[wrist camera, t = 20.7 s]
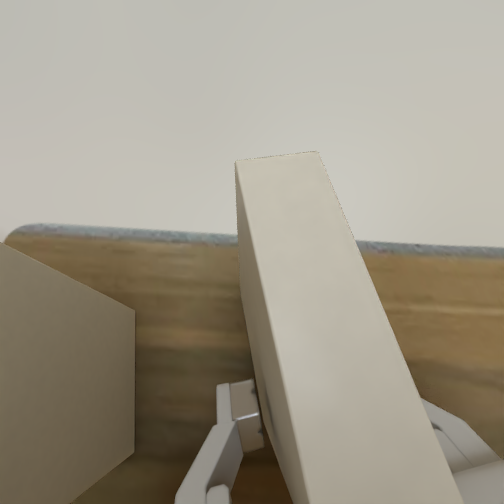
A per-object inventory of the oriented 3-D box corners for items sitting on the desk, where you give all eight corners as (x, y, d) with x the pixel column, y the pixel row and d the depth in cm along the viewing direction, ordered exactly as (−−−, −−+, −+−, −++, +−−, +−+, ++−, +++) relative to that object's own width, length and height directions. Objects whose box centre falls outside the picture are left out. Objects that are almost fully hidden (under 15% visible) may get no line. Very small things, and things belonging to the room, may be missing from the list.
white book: (263, 421, 16) (335, 623, 4) (239, 291, 20) (233, 159, 7) (300, 412, 16) (493, 567, 4) (271, 285, 20) (318, 149, 7)
